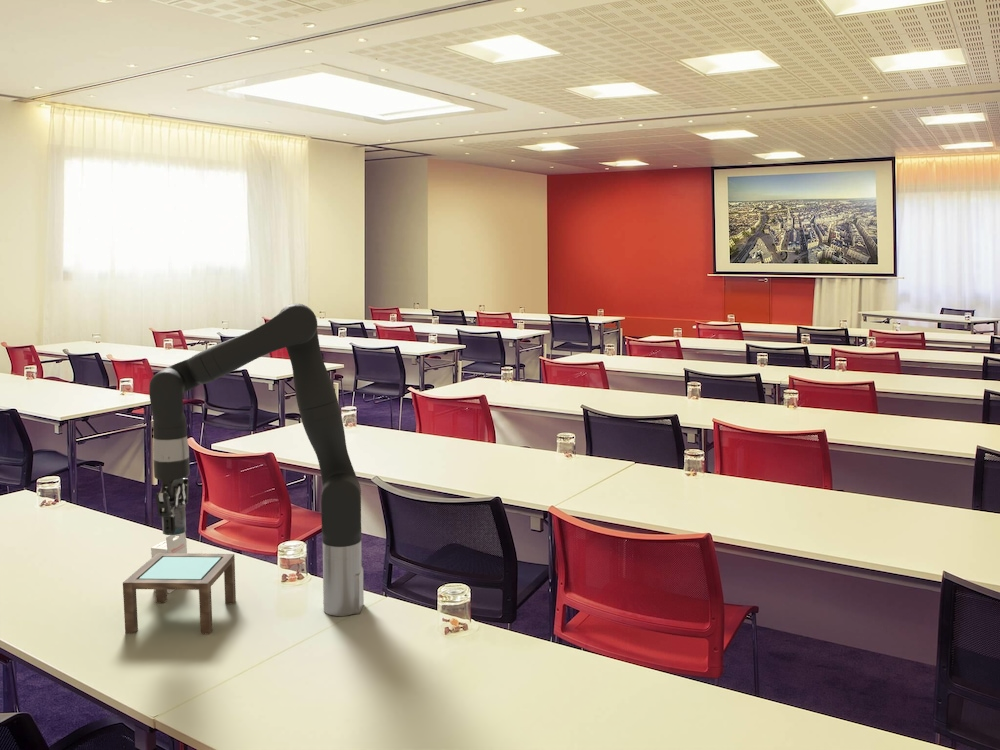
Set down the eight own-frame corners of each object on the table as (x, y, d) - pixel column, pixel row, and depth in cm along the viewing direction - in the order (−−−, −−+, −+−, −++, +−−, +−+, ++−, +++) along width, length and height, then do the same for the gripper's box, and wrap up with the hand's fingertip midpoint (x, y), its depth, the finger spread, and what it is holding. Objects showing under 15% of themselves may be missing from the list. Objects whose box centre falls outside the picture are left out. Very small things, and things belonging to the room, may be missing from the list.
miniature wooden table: (235, 600, 204) (234, 553, 202) (209, 634, 185) (207, 583, 183) (159, 599, 204) (157, 553, 202) (125, 633, 185) (122, 582, 183)
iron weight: (189, 528, 191) (188, 503, 190) (181, 535, 186) (180, 509, 185) (167, 528, 190) (166, 503, 190) (159, 535, 186) (157, 509, 185)
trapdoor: (221, 561, 200) (220, 557, 200) (200, 583, 186) (200, 579, 186) (163, 560, 200) (163, 556, 200) (138, 582, 186) (138, 578, 186)
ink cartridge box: (171, 579, 217) (169, 525, 215) (188, 581, 216) (186, 527, 214) (152, 591, 208) (149, 536, 207) (169, 593, 208) (167, 537, 206)
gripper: (175, 464, 179) (179, 539, 181) (199, 449, 193) (202, 519, 195) (141, 464, 179) (145, 539, 181) (167, 449, 193) (170, 519, 195)
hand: (174, 528), depth 188 cm, fingers closed on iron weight, 5 cm apart
